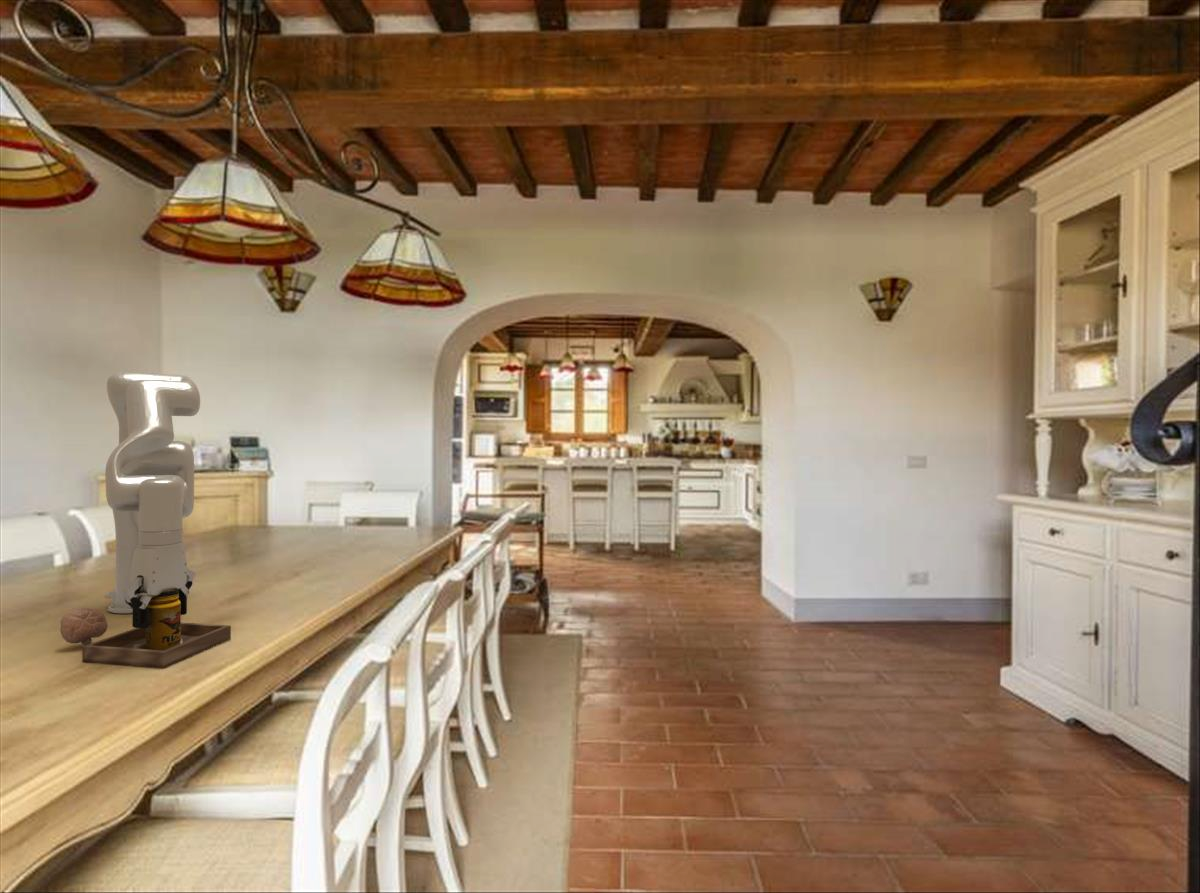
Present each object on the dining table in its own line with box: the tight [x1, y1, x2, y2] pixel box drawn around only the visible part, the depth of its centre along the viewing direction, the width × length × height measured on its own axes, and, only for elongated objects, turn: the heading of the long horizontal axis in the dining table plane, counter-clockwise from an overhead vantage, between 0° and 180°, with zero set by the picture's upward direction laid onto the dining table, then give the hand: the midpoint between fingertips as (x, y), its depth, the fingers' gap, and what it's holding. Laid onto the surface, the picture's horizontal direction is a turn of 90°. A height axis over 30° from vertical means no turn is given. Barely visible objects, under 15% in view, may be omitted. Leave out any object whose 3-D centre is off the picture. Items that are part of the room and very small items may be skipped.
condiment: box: [134, 588, 183, 651], centre depth 135 cm, size 7×8×12 cm
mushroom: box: [59, 606, 109, 646], centre depth 137 cm, size 8×6×8 cm
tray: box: [81, 621, 232, 669], centre depth 136 cm, size 18×18×3 cm
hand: (160, 620), depth 136 cm, fingers open, 9 cm apart
